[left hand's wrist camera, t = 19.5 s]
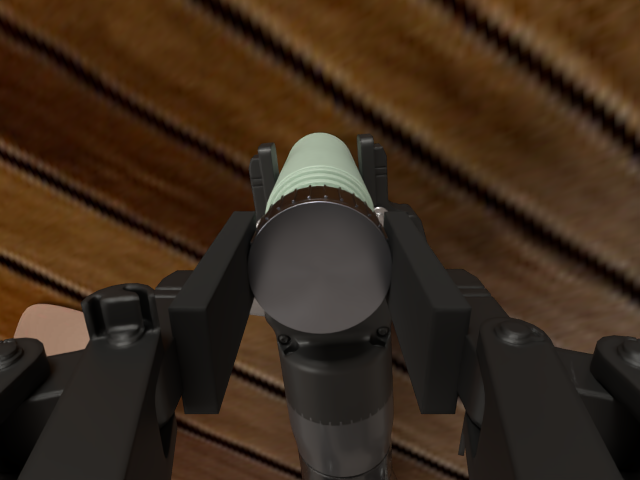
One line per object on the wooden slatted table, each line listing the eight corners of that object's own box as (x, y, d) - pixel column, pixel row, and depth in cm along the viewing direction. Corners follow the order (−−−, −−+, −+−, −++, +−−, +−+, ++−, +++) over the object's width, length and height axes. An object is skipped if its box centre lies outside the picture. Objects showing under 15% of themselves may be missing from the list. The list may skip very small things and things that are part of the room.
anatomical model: (-42, 328, 29) (115, 335, 29) (-1, 300, 33) (138, 307, 33) (1, 459, 34) (136, 465, 34) (32, 423, 38) (154, 428, 38)
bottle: (294, 125, 28) (259, 177, 12) (360, 141, 28) (411, 210, 12) (281, 190, 30) (236, 311, 14) (343, 204, 30) (371, 337, 14)
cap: (401, 201, 14) (415, 219, 12) (364, 315, 15) (371, 347, 13) (268, 169, 13) (259, 183, 11) (245, 289, 15) (233, 320, 13)
